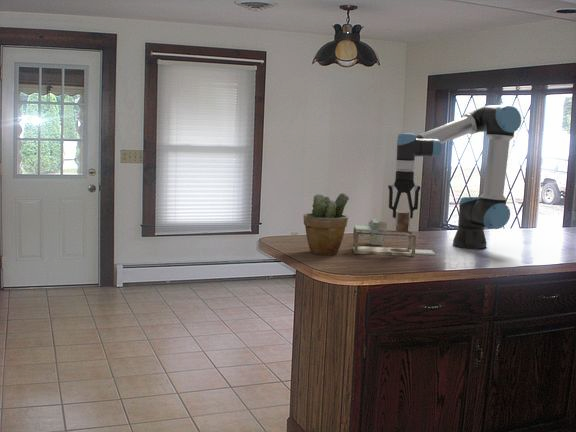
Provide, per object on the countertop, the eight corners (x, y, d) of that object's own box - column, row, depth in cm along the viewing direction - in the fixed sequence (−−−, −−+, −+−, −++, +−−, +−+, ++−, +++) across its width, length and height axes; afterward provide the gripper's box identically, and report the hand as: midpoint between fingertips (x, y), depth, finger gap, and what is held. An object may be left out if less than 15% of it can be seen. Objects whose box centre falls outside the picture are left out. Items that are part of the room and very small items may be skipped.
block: (406, 230, 294) (407, 211, 293) (408, 232, 290) (409, 213, 289) (395, 230, 294) (396, 211, 293) (397, 231, 290) (398, 212, 289)
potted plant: (315, 257, 273) (318, 194, 270) (293, 249, 289) (296, 190, 286) (354, 255, 282) (357, 194, 279) (330, 248, 298) (334, 190, 295)
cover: (375, 228, 298) (375, 219, 298) (378, 232, 286) (378, 222, 285) (354, 227, 298) (354, 218, 298) (356, 231, 286) (356, 221, 286)
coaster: (431, 251, 301) (431, 250, 301) (435, 255, 292) (435, 253, 292) (410, 250, 301) (410, 249, 301) (413, 254, 292) (414, 252, 292)
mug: (385, 246, 310) (386, 224, 309) (357, 244, 312) (358, 222, 311) (386, 243, 318) (387, 222, 317) (359, 241, 320) (360, 220, 319)
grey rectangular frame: (410, 251, 299) (411, 231, 298) (414, 256, 287) (416, 235, 286) (352, 248, 299) (353, 228, 298) (354, 253, 287) (355, 232, 286)
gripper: (424, 170, 292) (421, 225, 295) (382, 169, 293) (380, 224, 296) (427, 171, 285) (424, 227, 288) (384, 170, 285) (382, 226, 288)
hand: (402, 225), depth 292 cm, fingers closed on block, 4 cm apart
